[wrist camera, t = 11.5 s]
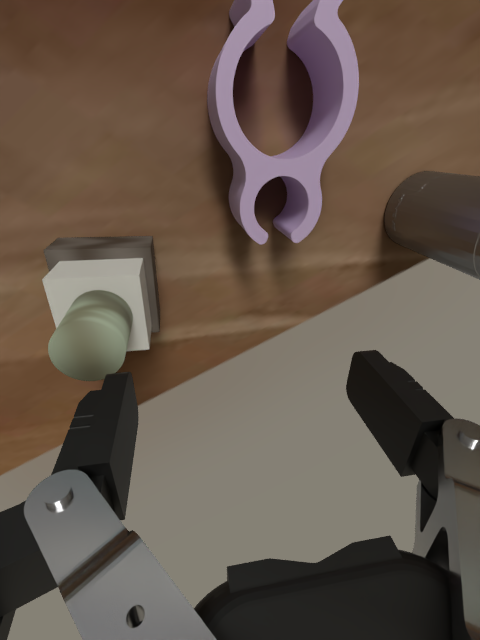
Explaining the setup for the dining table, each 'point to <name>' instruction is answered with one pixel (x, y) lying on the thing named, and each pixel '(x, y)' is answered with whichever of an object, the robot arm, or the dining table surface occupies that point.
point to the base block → (111, 250)
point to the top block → (107, 276)
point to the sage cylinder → (92, 336)
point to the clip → (324, 126)
